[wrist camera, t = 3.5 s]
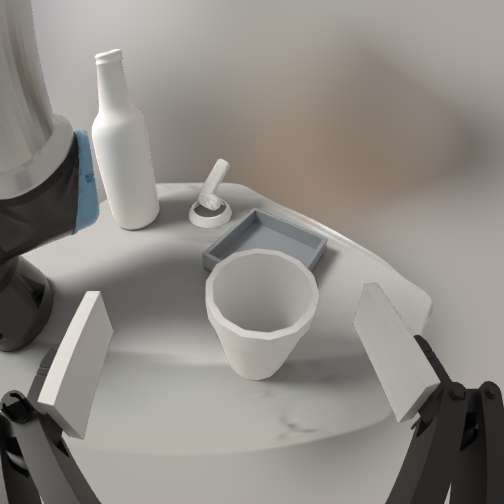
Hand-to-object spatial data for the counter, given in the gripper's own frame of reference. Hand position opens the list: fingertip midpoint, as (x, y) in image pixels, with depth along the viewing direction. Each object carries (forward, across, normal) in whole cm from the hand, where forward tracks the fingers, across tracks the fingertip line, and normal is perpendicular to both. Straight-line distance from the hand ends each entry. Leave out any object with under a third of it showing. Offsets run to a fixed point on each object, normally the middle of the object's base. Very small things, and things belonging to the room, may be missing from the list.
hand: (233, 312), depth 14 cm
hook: (+38, -3, -11) cm, 40 cm away
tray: (+27, +6, -14) cm, 31 cm away
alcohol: (+39, -16, -11) cm, 43 cm away
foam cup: (+12, +3, -18) cm, 22 cm away
